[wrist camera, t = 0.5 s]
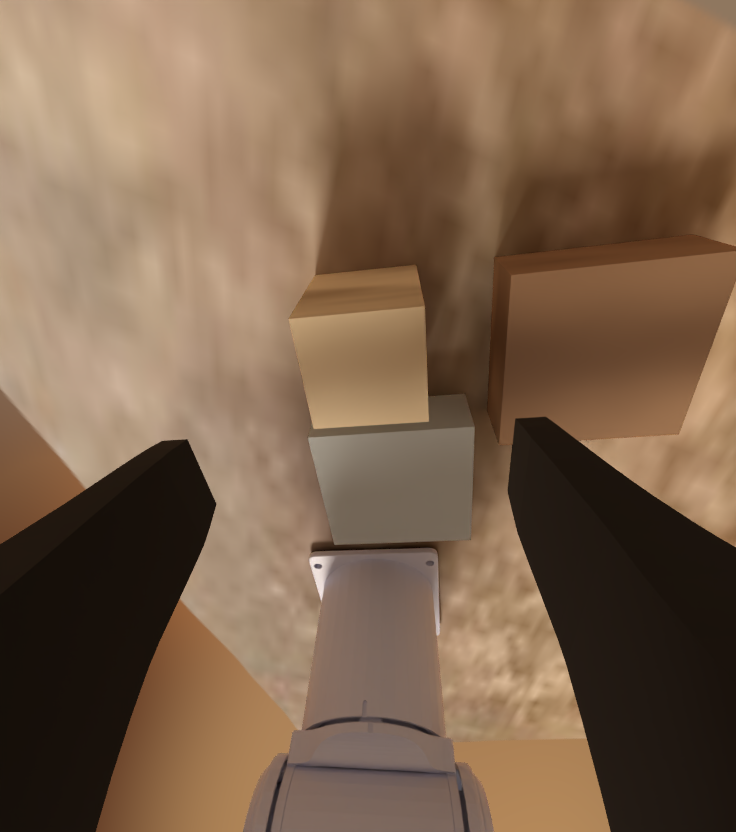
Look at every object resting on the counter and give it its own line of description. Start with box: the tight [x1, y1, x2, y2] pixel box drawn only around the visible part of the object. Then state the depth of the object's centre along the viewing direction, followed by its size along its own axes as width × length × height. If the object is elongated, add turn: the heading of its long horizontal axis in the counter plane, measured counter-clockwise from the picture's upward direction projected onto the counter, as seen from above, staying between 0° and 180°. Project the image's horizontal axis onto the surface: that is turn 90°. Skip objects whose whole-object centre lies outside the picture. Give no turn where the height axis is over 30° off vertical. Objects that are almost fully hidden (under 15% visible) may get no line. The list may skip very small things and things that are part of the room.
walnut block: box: [487, 235, 736, 445], centre depth 16 cm, size 7×7×3 cm
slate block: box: [308, 394, 475, 545], centre depth 20 cm, size 7×7×3 cm
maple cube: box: [289, 265, 429, 429], centre depth 15 cm, size 4×4×5 cm
